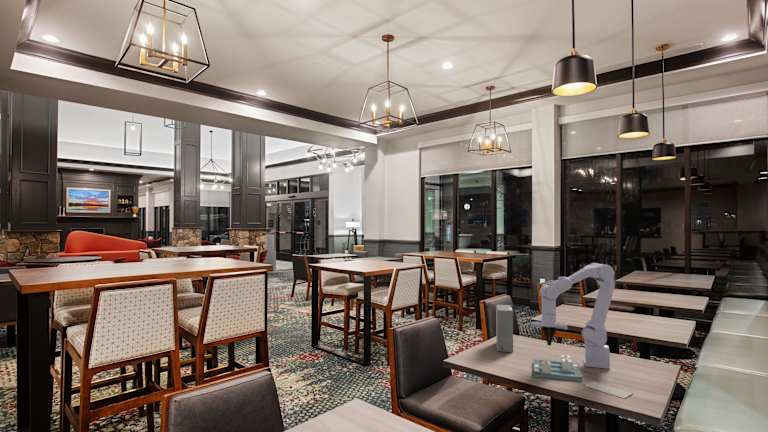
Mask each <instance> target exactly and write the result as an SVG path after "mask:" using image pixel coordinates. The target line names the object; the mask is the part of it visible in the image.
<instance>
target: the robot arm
mask: <svg viewBox="0 0 768 432" xmlns="http://www.w3.org/2000/svg"><path fill="white" fill-rule="evenodd" d="M615 274H616V272H615V270H614V269H613V267H612V266H611V265H609V264H603V263H597V262H591V263H590V264H587V265H585V266H584V267H583V268H581V269H579V270H578V271H576V272H574V273H573V274H571V275H569V276H568V277H567V276H558V279H556V280H554V281H552V282H551V281H550V282H549V283H548V284H543V285H542V286H541V287H540V289H539V290H538V294H539V296H540V297H541V321H531V322H530V327H531V328H541V329H542V331H543V334H544V336H545V339H546V342H547V343H546V344H547V346H552V341H553V337H554V336H555V334H556V331H557V329H558V330H559V329H560V330H566V331H567V330H568V324H567V323H560V322H557V303H556V302H557V300H556V299H558V297H559V295H561V294H563V293H565V292H567V291H569V290H571V288H572V287H573V284H575V283H579V282H580V281H582V280H585V279H587V278H593V279H594V280H596V282H597V284H598V285H599V289H598V292H597V296H596V299H595V302H594V303H595V304H594V307H593V310H592V315H591V317H590V320H588V321H587V322H586V323H585V326H584V327H583V329H582V330H581V337H582V338H583V339H584V352H585V353H584V359H583V364H584V367H590V368H598V369H599V368H600V369H611V365H610V363H611V360H610V359H611V358H610V347H609V345H607V344H606V343H607V341H608V335H607V332H608V330H607V327H606V326H605V323H606V320H607V316H608V313H609V309H610V305H611V302H612V298H613V294H614V291H615V287H616V282H615Z"/></svg>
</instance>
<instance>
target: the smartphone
mask: <svg viewBox="0 0 768 432" xmlns="http://www.w3.org/2000/svg"><path fill="white" fill-rule="evenodd" d="M583 386H584V387H586V388H588V389H592V390H595V391H598V392H601V393H604V394H607V395H609V396H614V397H617V398H620V399H623V400H626V399H629V398H630V397H632V396H633V395H634V393H632V392H629V391H626V390H623V389H619V388H616V387H612V386H609V385H606V384H602V383H599V382H596V381H590V382H587V383H586V384H583Z"/></svg>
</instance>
